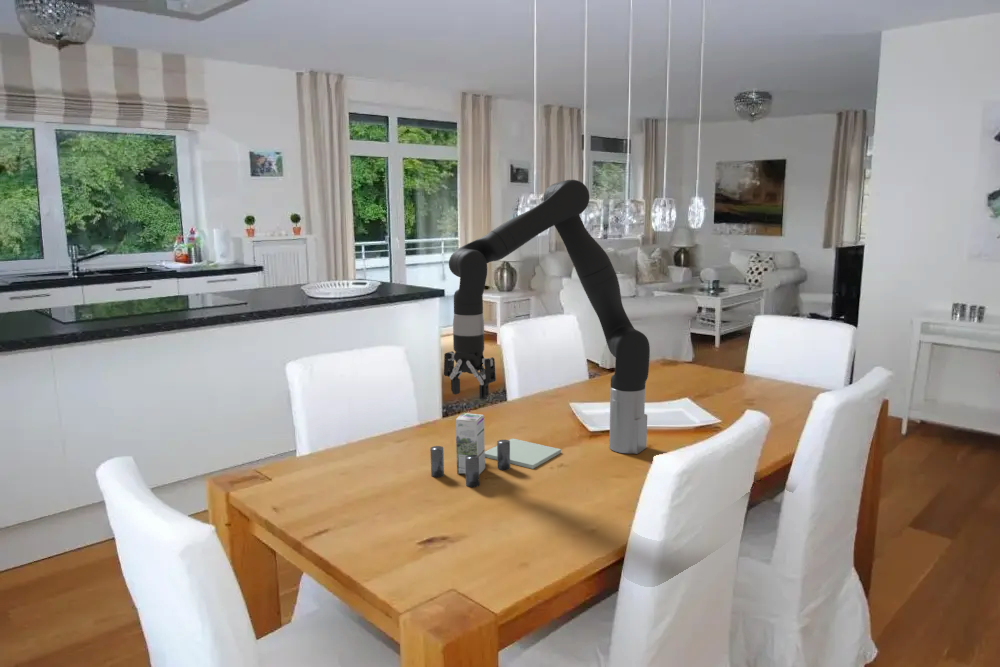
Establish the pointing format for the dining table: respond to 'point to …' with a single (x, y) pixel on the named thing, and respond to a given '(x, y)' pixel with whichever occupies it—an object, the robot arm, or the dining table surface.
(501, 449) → the cylinder
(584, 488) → the dining table surface
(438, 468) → the cylinder
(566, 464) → the dining table surface
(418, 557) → the dining table surface
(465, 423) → the syrup box
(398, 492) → the dining table surface
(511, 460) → the sage board
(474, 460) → the cylinder
